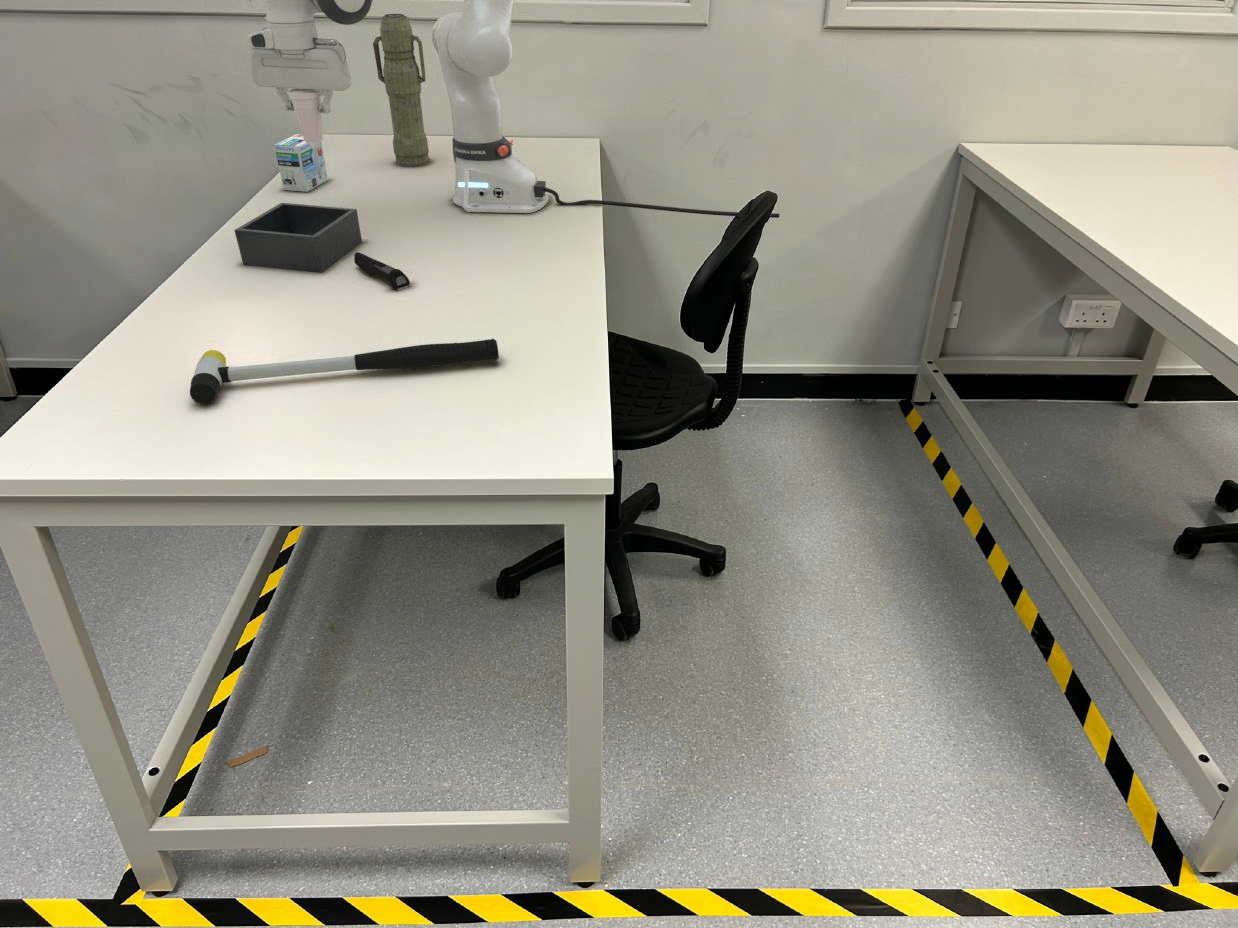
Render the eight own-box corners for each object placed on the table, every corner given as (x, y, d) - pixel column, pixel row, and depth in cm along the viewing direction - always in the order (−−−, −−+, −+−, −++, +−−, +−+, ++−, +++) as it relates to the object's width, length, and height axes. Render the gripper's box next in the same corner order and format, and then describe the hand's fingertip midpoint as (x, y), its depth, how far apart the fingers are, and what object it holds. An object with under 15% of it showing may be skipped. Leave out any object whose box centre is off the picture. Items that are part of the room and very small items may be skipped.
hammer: (191, 407, 124) (184, 383, 122) (203, 372, 133) (197, 349, 130) (501, 376, 133) (500, 353, 131) (494, 345, 141) (492, 323, 139)
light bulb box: (308, 192, 206) (299, 146, 200) (282, 190, 207) (272, 144, 201) (329, 180, 214) (321, 135, 208) (304, 178, 216) (295, 133, 209)
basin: (362, 242, 179) (356, 209, 175) (322, 272, 166) (315, 237, 162) (288, 235, 182) (281, 202, 178) (242, 264, 169) (234, 230, 165)
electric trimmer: (368, 264, 170) (365, 248, 168) (412, 285, 161) (409, 269, 159) (351, 269, 168) (348, 253, 166) (394, 291, 159) (392, 275, 157)
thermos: (391, 158, 231) (370, 13, 211) (435, 157, 232) (419, 12, 212) (388, 167, 224) (366, 18, 204) (434, 166, 225) (417, 17, 205)
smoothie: (301, 136, 181) (287, 64, 173) (332, 136, 182) (319, 64, 174) (294, 144, 176) (279, 70, 168) (326, 144, 176) (312, 70, 168)
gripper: (350, 37, 168) (361, 111, 176) (256, 32, 172) (272, 105, 180) (334, 42, 163) (347, 118, 171) (238, 37, 167) (255, 112, 175)
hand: (308, 111), depth 176 cm, fingers closed on smoothie, 6 cm apart
